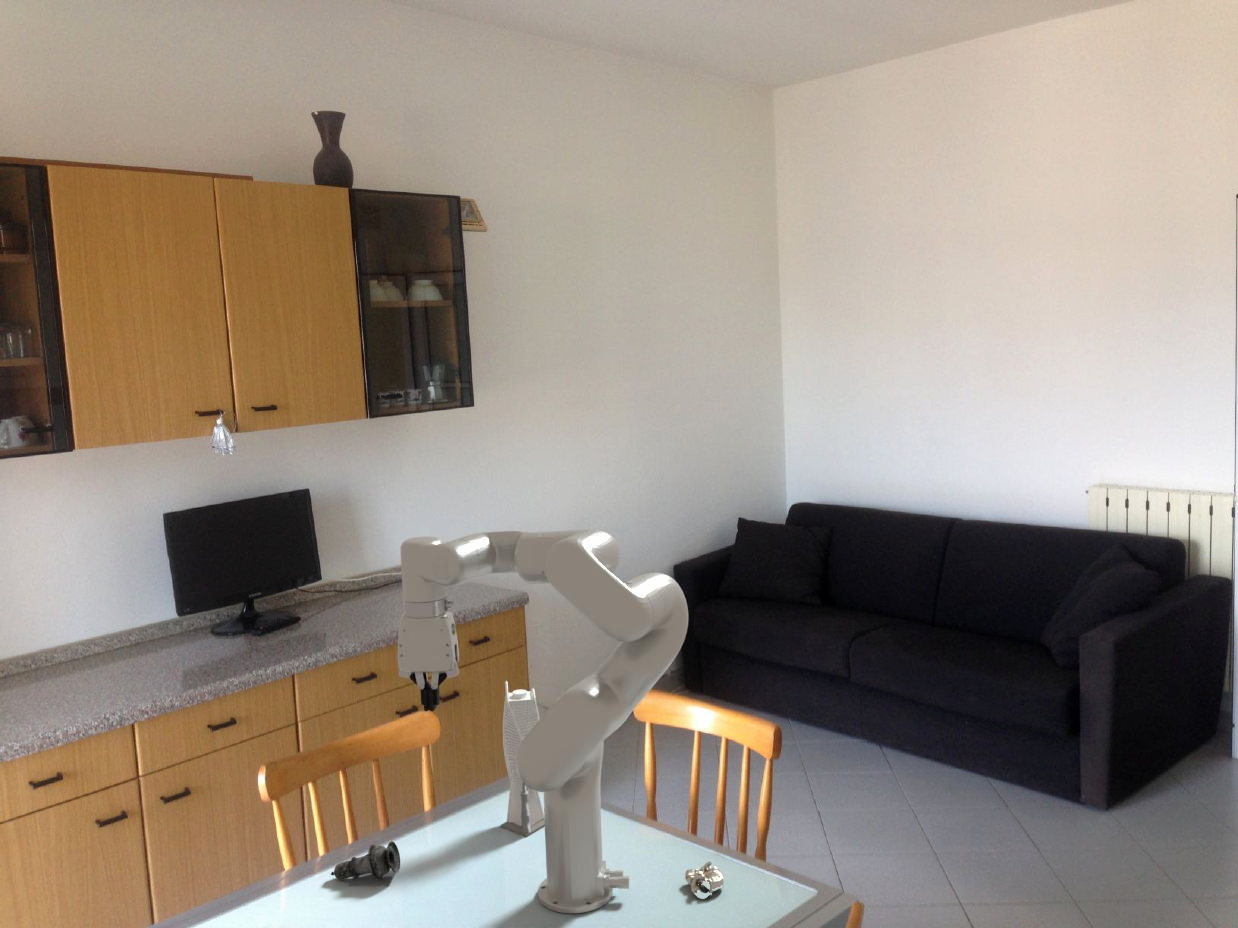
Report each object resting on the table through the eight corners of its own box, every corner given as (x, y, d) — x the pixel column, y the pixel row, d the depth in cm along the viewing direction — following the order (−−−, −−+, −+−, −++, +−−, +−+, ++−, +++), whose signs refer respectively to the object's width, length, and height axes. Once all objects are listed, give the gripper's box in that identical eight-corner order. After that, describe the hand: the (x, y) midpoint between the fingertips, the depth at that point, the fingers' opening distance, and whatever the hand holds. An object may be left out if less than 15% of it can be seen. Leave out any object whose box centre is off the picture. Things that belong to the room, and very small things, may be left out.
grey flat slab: (396, 871, 185) (396, 869, 184) (388, 886, 180) (388, 884, 180) (358, 871, 185) (358, 869, 185) (348, 885, 180) (348, 884, 180)
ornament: (694, 873, 181) (693, 853, 181) (731, 881, 178) (730, 861, 178) (676, 895, 174) (675, 875, 174) (714, 904, 171) (714, 883, 171)
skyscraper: (494, 825, 201) (488, 686, 198) (522, 809, 208) (517, 674, 204) (526, 836, 196) (520, 694, 193) (554, 820, 202) (549, 682, 199)
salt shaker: (396, 881, 179) (331, 898, 180) (403, 860, 185) (341, 877, 186) (384, 852, 178) (319, 870, 179) (392, 832, 184) (329, 849, 185)
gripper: (472, 601, 185) (476, 701, 187) (390, 602, 186) (395, 701, 188) (462, 612, 177) (467, 716, 179) (377, 613, 178) (383, 716, 180)
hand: (430, 708), depth 184 cm, fingers closed
